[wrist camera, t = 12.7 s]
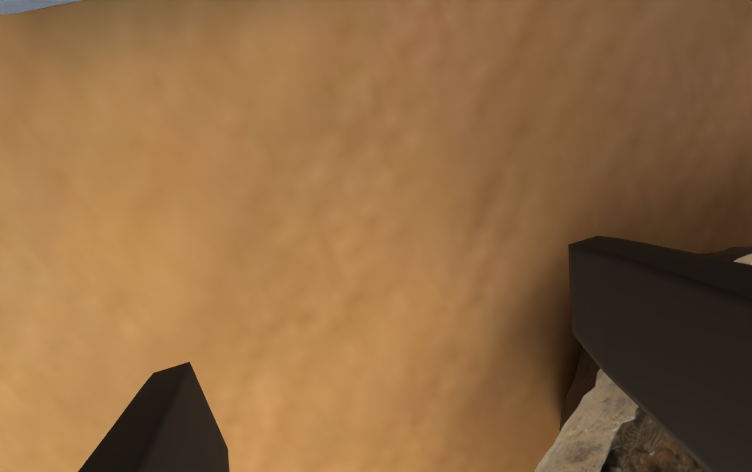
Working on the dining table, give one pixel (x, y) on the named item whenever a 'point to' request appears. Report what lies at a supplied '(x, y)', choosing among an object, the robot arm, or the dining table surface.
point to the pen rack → (28, 5)
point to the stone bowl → (615, 423)
